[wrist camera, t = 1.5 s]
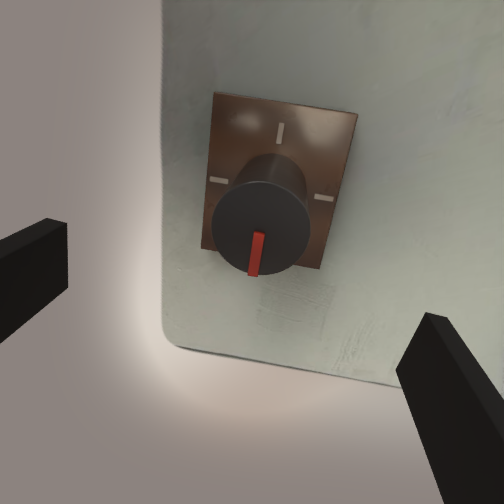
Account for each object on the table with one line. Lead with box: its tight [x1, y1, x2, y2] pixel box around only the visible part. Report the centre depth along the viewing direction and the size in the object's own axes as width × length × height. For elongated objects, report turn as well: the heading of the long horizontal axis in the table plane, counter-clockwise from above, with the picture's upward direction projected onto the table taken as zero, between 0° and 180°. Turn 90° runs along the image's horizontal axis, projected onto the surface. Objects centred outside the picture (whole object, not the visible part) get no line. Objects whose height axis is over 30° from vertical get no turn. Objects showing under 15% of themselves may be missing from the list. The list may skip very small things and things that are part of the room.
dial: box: [211, 153, 311, 277], centre depth 22 cm, size 5×5×9 cm
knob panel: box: [201, 92, 358, 269], centre depth 27 cm, size 12×10×2 cm
